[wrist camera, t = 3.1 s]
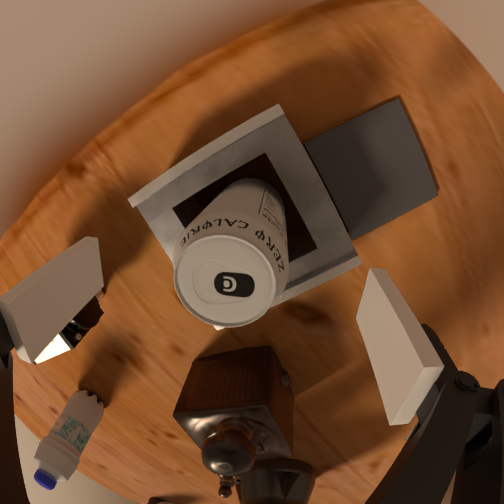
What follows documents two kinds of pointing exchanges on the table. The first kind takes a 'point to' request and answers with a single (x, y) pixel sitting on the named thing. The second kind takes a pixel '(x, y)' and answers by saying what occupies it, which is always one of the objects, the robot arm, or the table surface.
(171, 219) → the housing
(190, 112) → the table surface
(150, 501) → the vinegar
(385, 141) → the mat
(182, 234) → the energy drink can
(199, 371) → the brown manual coffee grinder
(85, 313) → the pneumatic valve
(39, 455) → the bottle
